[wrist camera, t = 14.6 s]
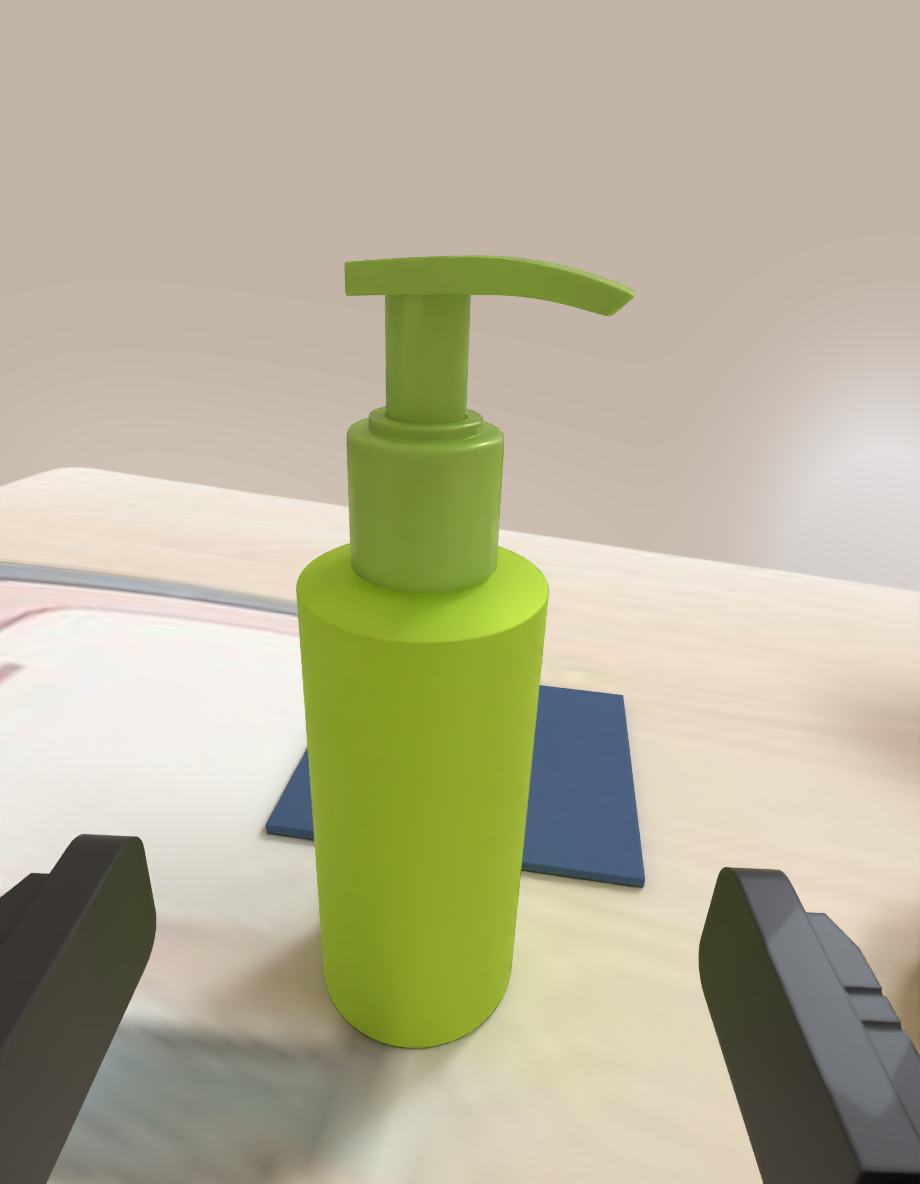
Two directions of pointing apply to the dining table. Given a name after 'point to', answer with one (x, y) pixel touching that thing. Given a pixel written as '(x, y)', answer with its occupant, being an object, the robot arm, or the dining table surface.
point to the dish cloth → (551, 792)
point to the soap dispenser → (425, 670)
